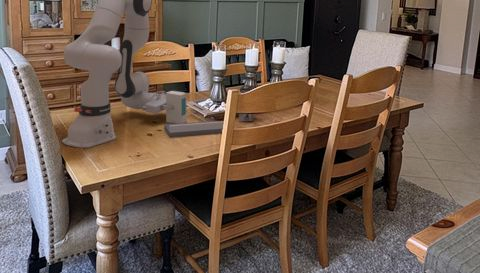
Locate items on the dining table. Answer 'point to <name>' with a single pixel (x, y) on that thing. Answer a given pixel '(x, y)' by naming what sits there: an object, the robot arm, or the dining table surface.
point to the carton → (176, 107)
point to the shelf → (193, 128)
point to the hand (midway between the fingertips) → (176, 106)
